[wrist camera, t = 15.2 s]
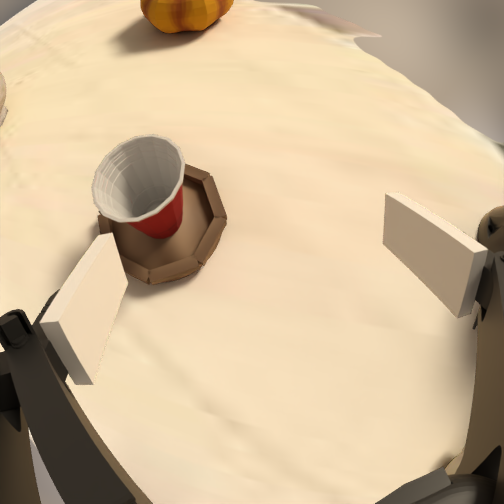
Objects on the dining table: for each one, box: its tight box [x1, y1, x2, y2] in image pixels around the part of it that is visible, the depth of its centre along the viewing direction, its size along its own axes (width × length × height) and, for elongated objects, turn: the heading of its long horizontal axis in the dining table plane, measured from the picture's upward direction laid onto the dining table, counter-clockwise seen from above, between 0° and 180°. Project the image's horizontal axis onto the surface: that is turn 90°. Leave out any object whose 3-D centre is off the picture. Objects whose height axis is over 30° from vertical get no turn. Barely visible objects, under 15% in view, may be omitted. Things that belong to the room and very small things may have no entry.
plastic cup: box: [92, 134, 185, 239], centre depth 36 cm, size 11×11×12 cm
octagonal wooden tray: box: [98, 164, 227, 285], centre depth 42 cm, size 17×17×4 cm
